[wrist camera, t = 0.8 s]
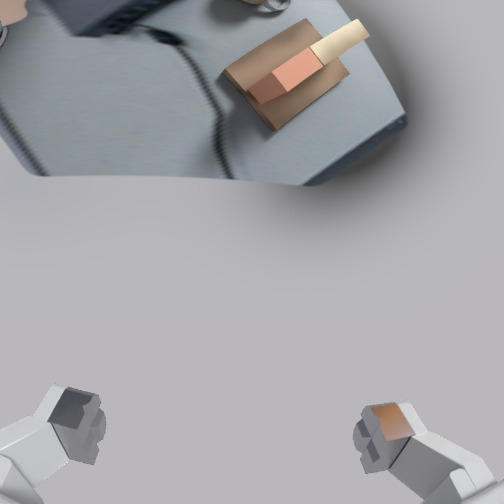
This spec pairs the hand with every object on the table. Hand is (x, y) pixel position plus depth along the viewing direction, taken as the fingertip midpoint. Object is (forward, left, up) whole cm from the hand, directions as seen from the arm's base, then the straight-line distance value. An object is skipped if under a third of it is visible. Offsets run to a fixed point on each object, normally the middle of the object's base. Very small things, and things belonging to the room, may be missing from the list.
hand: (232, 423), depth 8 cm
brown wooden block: (-5, +28, -39) cm, 48 cm away
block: (-5, +23, -37) cm, 44 cm away
